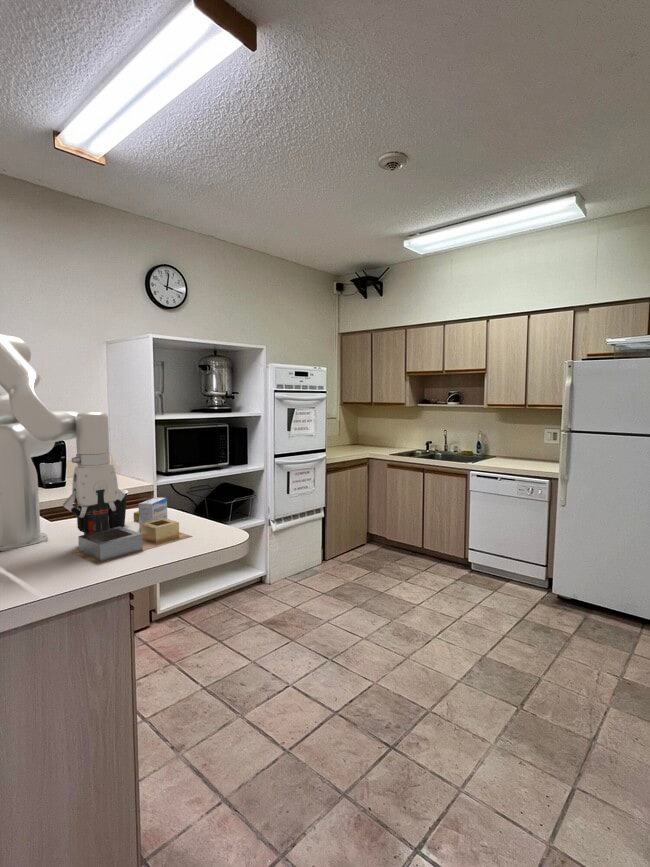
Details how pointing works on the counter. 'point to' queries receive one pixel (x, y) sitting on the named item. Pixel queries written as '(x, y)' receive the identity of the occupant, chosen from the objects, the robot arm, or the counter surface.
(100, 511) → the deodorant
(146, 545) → the fitting board
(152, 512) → the medicine box
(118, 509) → the dixie cup
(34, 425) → the robot arm
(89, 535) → the grey open tray
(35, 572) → the counter surface
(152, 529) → the tan wooden open box
